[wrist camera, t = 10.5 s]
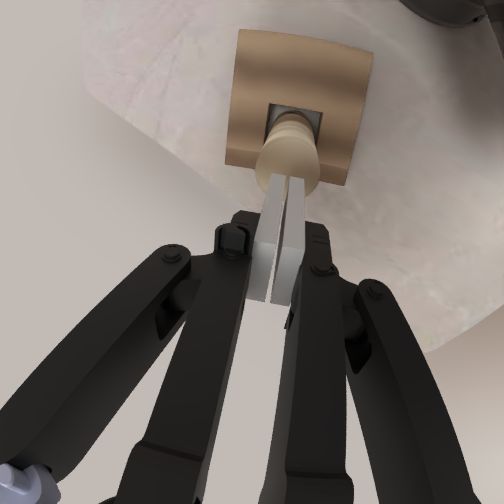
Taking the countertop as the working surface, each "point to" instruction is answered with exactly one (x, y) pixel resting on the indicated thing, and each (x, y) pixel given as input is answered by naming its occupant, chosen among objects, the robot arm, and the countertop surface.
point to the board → (297, 95)
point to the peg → (289, 152)
